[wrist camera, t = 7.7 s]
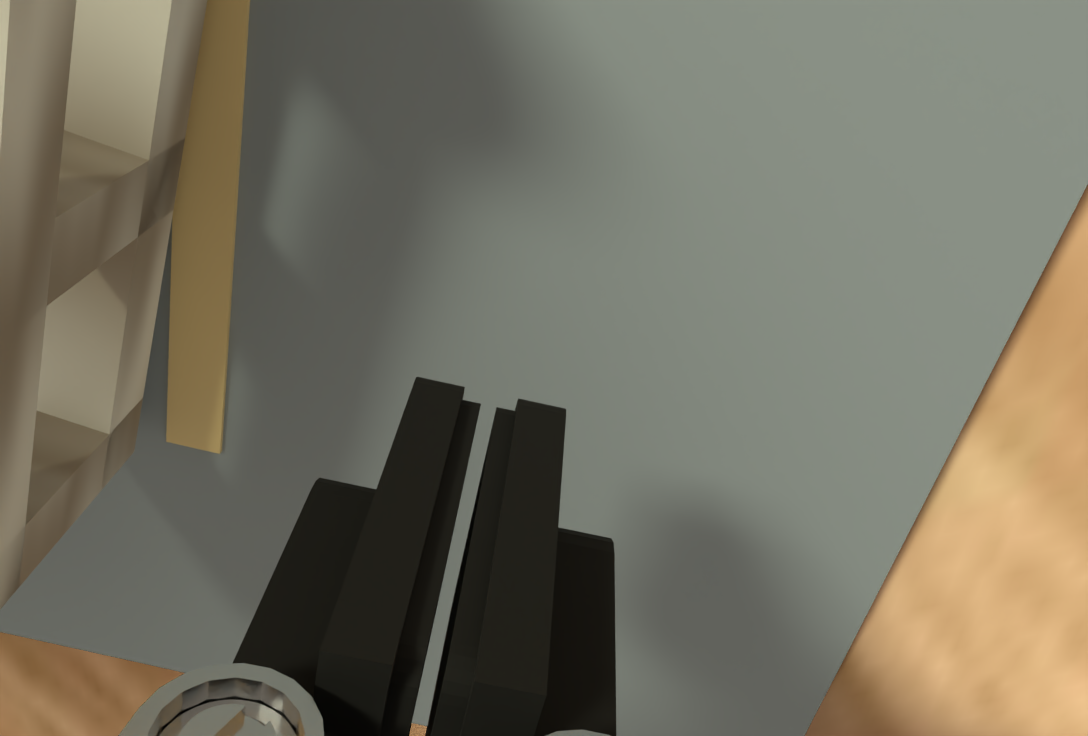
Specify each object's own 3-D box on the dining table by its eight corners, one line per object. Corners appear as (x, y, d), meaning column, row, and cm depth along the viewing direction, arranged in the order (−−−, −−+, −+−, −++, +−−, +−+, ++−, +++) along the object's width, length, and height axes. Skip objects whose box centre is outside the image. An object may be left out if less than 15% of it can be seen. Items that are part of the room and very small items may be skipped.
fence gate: (148, -258, 12) (-121, -323, 8) (243, -221, 12) (27, -266, 8) (68, 429, 17) (-122, 619, 13) (133, 451, 17) (-33, 647, 13)
